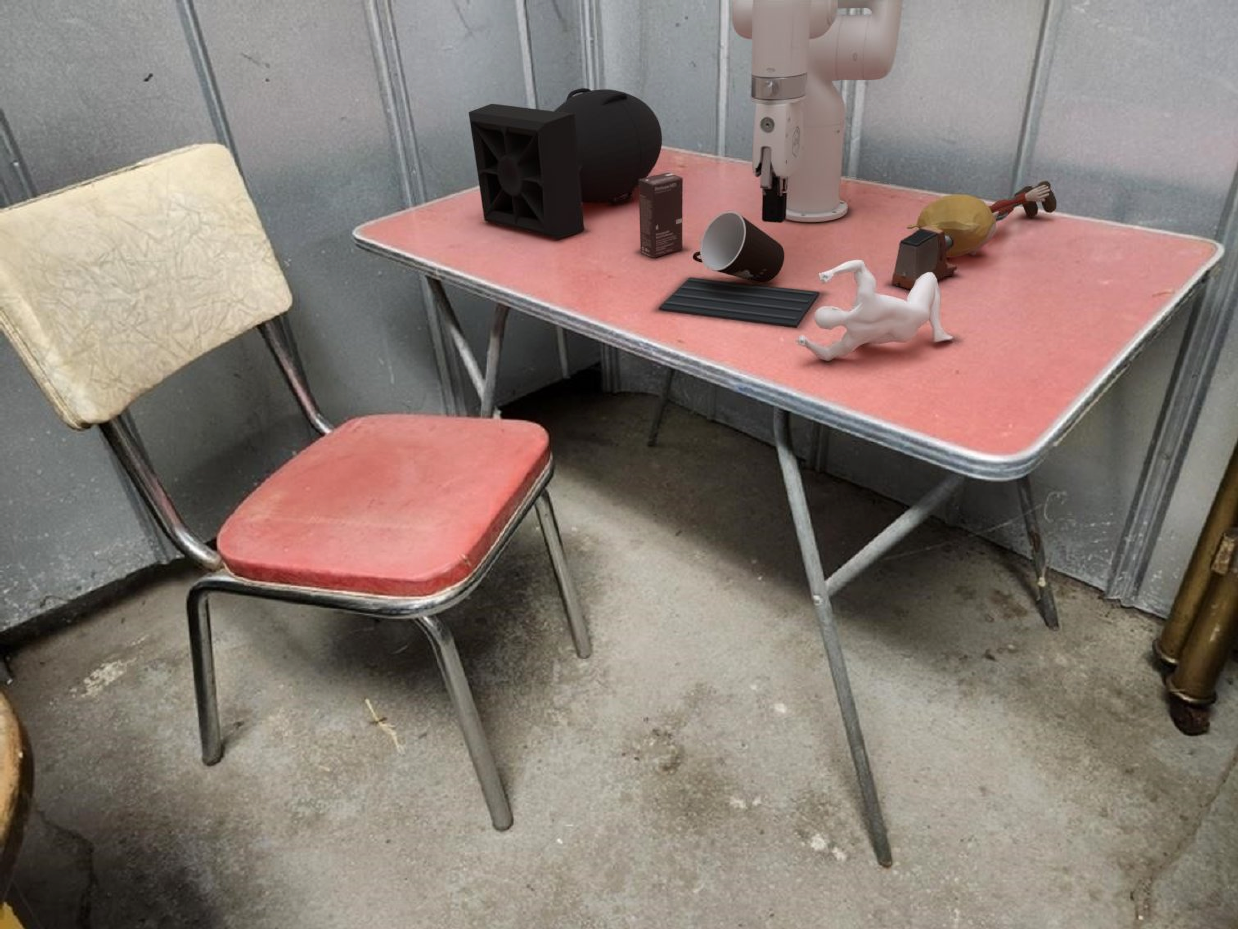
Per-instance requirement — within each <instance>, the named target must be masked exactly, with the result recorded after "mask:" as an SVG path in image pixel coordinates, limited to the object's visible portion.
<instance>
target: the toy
mask: <svg viewBox="0 0 1238 929" xmlns="http://www.w3.org/2000/svg"><path fill="white" fill-rule="evenodd" d="M1051 186H1052V184H1051V183H1050V182H1049V181H1048V180H1042V181H1041V182H1039V183H1038V184H1037V185H1036V186H1034V187H1033V185H1026V186H1024V187H1022V188H1021V189H1019V190H1018V191H1017V192H1016V193H1014V194H1013V197H1012V198H1011V199H1000V200H998V201H997V200H996V201H995V202H994V203H993V204H991V205H988V204H986V202H985V201H984V200H982V199H981V198H978V197H976V196H973V195H970V194H961V193H959V194H950V195H944V196H943V197H941V198H939V199H937V200H934V201H933V202H931V203H929V204H928V205H926V206H925V207H924V208H923V209H922V210H921V212H920V213H919V216H918V217H917V221H916V224H915V223H914V224H910V225H907V226H906V229H907V230H912V229H915V228H918V230H920V229H921V228H923V227H925V226H928V227H933V228H936V229H940V230H943V231H944V233H945V235H949V236H951V237H952V239H953V240H954V244H953V246H952V247H951V248H950V249H949V250H948V251H946V258H954V257H956V258H957V257H961V256H964V255H967V254H970V255H971V256H975V255H977V253H978V251H979V250H980V249H981V248H982V247H984V246H985V245H986V244H987V243H988V242H989V241H990V240H992V239H993V237H994V236H995V234H996V233H997V222H999V221H1002V220H1004V219H1006V218H1007V217H1008V216H1009V215H1010V214H1011V213H1012V212H1014V210H1015V208H1017V207H1019V206H1021V205H1022V207H1023V210H1024V213H1025V215H1026V216H1027V218H1031V219H1033V218H1035V217H1036V216H1037V215H1038V213H1039V207H1038V203H1041V206H1042V208H1043V210H1044V212H1045V213H1049V214H1052V213H1054V212H1055V211H1056V209H1057V204H1058V202H1057V198H1056V196H1055V193H1054V192H1053V191H1052V189H1051V188H1052V187H1051Z"/></svg>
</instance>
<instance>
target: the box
mask: <svg viewBox="0 0 1238 929" xmlns="http://www.w3.org/2000/svg"><path fill="white" fill-rule="evenodd" d="M683 182H684V178H683V177H682V176H679V175H676V174H674V173H670V172H665V173H660V174H654V175H650V176H647V178H643V179H639V186H638V203H639V205H638V206H639V207H638V208H639V210H638V211H639V241H640V242H639V245H640V246H639V247H640V248H639V249H640V252H641V254H644V255H646V256H647V257H651V258H657V257H661V256H664V255H667V254H671V253H674V252H678V251H682V250H683V203H684V202H683V196H684V194H683V190H684V188H683V187H684V186H683V185H684V184H683Z"/></svg>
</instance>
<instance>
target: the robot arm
mask: <svg viewBox="0 0 1238 929" xmlns="http://www.w3.org/2000/svg"><path fill="white" fill-rule="evenodd" d="M731 1H732V2H731V11H730V12H731V23H732V27H733V29H734V31H735V33H736V34H737V35H738V36H739V37H741V38H743V39H746V40H751V69H750V70H751V72H750V73H751V74H750V101H751V102H752V103H755V109H754V110H755V111H754V118H753V119H754V120H753V135H752V154H751V156H752V158H751V162H752V163H751V164H752V165H751V166H752V174H753V175H754V176H755V177H756V178H759V177H760V183H759V188H760V189H761V193H762V194H761V195H762V198H761V200H762V202H761V220H762V222H764V223H774V224H775V223H777V224H783V222H784V221H785V220H787V221H792V222H798V223H799V222H800V223H820V222H822V223H823V222H829V221H835V220H837V219H840V218H842V217H845V215H846V214H847V213H848V206H849V205H848V204H847V202H846V201H844V200H842V199H840V195H841V182H842V170H843V168H842V167H843V154H844V142H845V128H846V116H847V109H846V104H845V100H844V98H843V96H842V94H841V93H840V91H839V89H838V88H837V87H836V85H835V83H833V82H838V81H876V80H881V79H883V78H884V79H885V77H887V76H888V75H889V74H890V72H891V71H892V69H893V67H894V62H895V59H896V54H897V47H898V41H899V34H900V33H899V32H900V26H901V25H900V24H901V18H902V10H903V3H904V0H731ZM838 9H839V10H840V9H868V10H870V11H871V13H870V14H838V11H839V10H838Z"/></svg>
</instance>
